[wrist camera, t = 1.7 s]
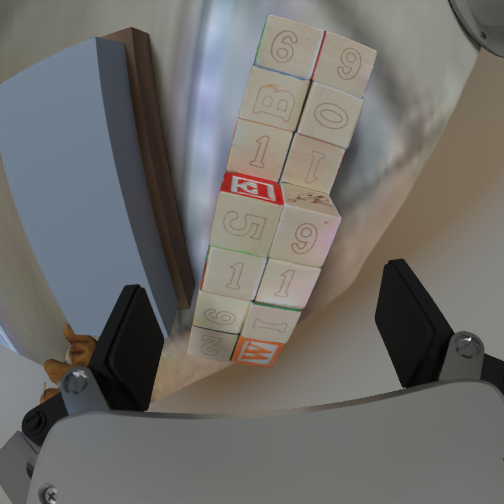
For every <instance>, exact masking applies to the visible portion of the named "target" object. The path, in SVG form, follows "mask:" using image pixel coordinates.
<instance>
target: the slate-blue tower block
mask: <svg viewBox="0 0 504 504" xmlns="http://www.w3.org/2000/svg"><path fill="white" fill-rule="evenodd" d="M0 153H1V157H2V161H3V165H4V169H5V173H6V176H7V180H8V183H9V187H10V190H11V193H12V196H13V200H14V203H15V206H16V209H17V212H18V214H19V217H20V220H21V223H22V225H23V228H24V231H25V233H26V236H27V238H28V241H29V243H30V246H31V248H32V250H33V253H34V255H35V257H36V260H37V262H38V264H39V266H40V269H41V271H42V273H43V275H44V277H45V279H46V281H47V283H48V285H49V287H50V289H51V291H52V293H53V295H54V297H55V299H56V301H57V303H58V305H59V307H60V308H61V310H62V312H63V314H64V316H65V318H66V319H67V321H68V323H69V325H70V326H71V328H72V330H73V331H74V333H75V334H76V335H92V336H100V335H101V333H102V331H103V329H104V327H105V325H106V322H107V320H108V318H109V316H110V314H111V312H112V310H113V308H114V306H115V304H116V302H117V300H118V298H119V296H120V294H121V292H122V290H123V288H124V286H125V285H132V284H139V285H140V286H141V287H143V288H145V290H146V292H147V295H148V298H149V300H150V303H151V306H152V308H153V311H154V313H155V316H156V318H157V321H158V323H159V326H160V328H161V331H162V333H163V336H164V338H169V335H170V331H171V328H172V324H173V320H174V317H175V313H176V310H177V306H178V300H177V297H176V294H175V290H174V287H173V283H172V280H171V277H170V273H169V270H168V266H167V262H166V259H165V255H164V251H163V248H162V244H161V240H160V236H159V232H158V228H157V224H156V220H155V216H154V212H153V208H152V204H151V199H150V195H149V190H148V186H147V181H146V177H145V172H144V167H143V162H142V157H141V152H140V147H139V141H138V136H137V130H136V124H135V118H134V112H133V106H132V99H131V93H130V85H129V78H128V70H127V61H126V52H125V43H123V42H118V41H114V40H109V39H105V38H100V37H93V38H91V39H88V40H86V41H83V42H81V43H78V44H76V45H74V46H71V47H69V48H67V49H65V50H62V51H60V52H58V53H56V54H54V55H52V56H50V57H48V58H46V59H44V60H42V61H40V62H38V63H36V64H34V65H32V66H30V67H29V68H27V69H25V70H23V71H21V72H20V73H18V74H16V75H15V76H13V77H11V78H10V79H8V80H6V81H5V82H3V83H2V84H0Z"/></svg>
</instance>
